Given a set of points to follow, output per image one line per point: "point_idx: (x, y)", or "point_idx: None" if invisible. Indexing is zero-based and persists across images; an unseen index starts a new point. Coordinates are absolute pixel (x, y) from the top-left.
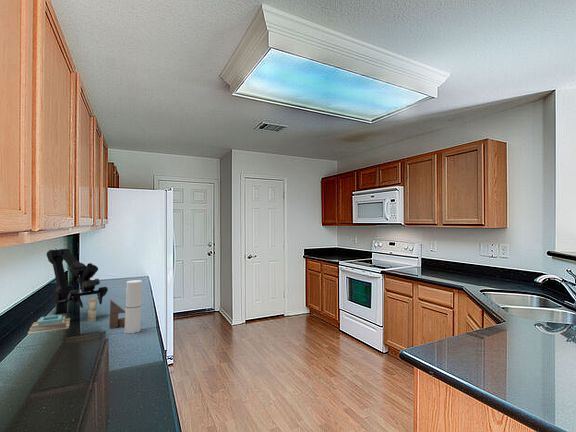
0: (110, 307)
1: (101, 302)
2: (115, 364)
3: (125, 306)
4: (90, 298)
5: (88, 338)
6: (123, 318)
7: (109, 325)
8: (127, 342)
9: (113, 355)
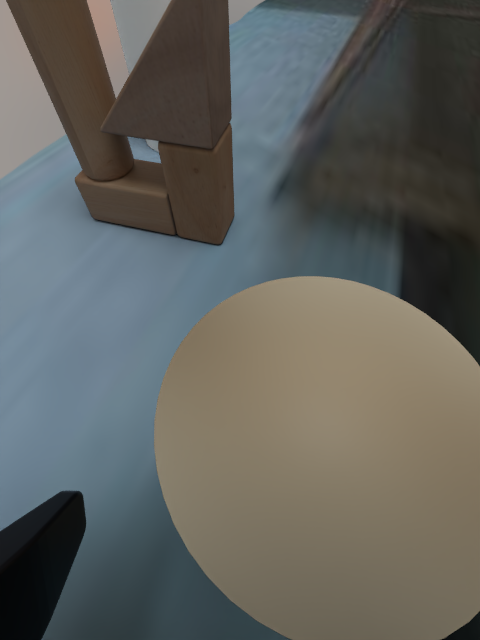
0: (219, 66)
1: (44, 506)
2: (342, 25)
3: (98, 59)
4: (429, 353)
5: (371, 162)
6: (136, 177)
7: (225, 227)
8: (261, 78)
9: (331, 46)
